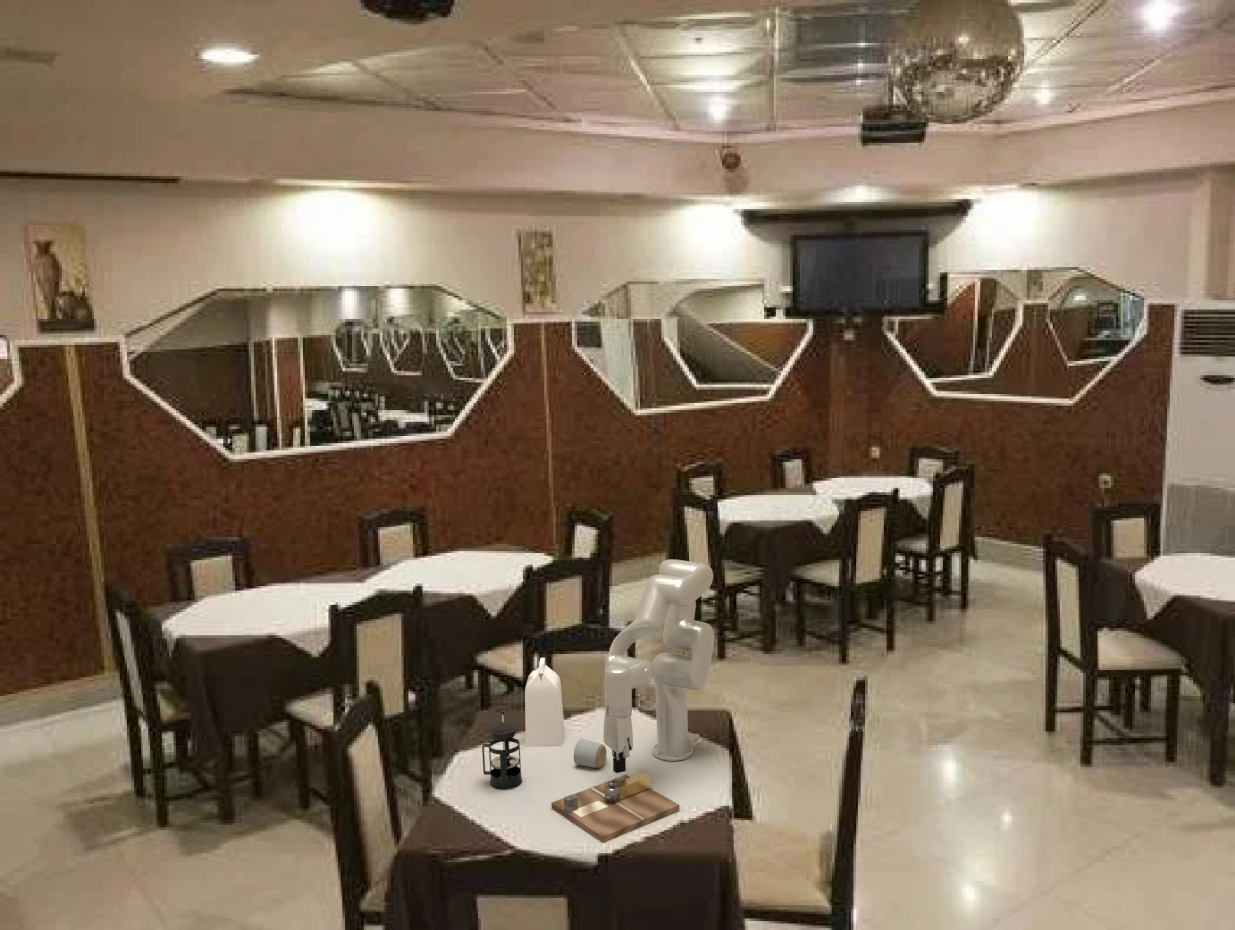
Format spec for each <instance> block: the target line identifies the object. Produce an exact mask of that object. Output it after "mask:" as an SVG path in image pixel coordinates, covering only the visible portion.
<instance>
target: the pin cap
mask: <svg viewBox="0 0 1235 930" xmlns="http://www.w3.org/2000/svg"><path fill="white" fill-rule="evenodd" d="M609 781H610V780H609ZM607 782H608V781H607ZM608 787H609V788H613V787H615V782H613V781H610V782H608Z"/></svg>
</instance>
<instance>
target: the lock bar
mask: <svg viewBox="0 0 1235 930" xmlns="http://www.w3.org/2000/svg"><path fill="white" fill-rule="evenodd" d="M629 777H630V778H627V779H625V780H622V781H619V782H617V783H615V787H613V788H609V787H608V785H606V786H605V787H604V791H605V801H606V802H608V803H615V802H618V801H619V800H620V799H623V798H625V797H628V796H631V795H633V794H636V793H638V792H641V791H643V790H646V789H648V788H650V789H651V775H649V774H647V773H645V772H641V773H638V774H636V775H633V776H629Z"/></svg>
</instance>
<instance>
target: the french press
mask: <svg viewBox="0 0 1235 930" xmlns="http://www.w3.org/2000/svg"><path fill="white" fill-rule="evenodd" d="M494 710H495V712H499V713H500V714H501V718H502V721H498V722H495V723H492V724H491V725H489V726H488V728H487V732H488V733H489V738H490V739H492V740H491V741H489V743H483V744H482V746H481V753H482V754H481V755H482V767H483V768H482V770H483V771H482V772H483V775H484V776H487V775H488V776H490V780H489V784H490V786H491V788H493V789H495V790H505V791H507V790H513V789H515V788H517V787H519V786H521V784H522V783H523V778H522V766H521V764H522V763H521V748H520V747H521V744H520V740H519V739H517V738H515V736H516V733H517V732H518V730H519V729H520V726H519V724H518V723H516V722H513V721H504V720H505V719H504V715H505V712H508V711H509V710H510V706H507V705H500V706H497V707H496V708H494ZM498 743H502V748H503V749H496V748H493V747H492V746H494V745H496V744H498ZM510 743H514V744H517V745H516V746H514V747H512V748H510ZM485 748H488V753H489V754H488V755H489V770H488V771H487V770H486V761H485V760H486V759H485V757H486V756H485ZM517 751H518V757H517V756H515V755H510V754H513V753H516V752H517ZM491 753H492V754H495V755H499V756H497V757H495V758H493V759H492V755H491Z"/></svg>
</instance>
